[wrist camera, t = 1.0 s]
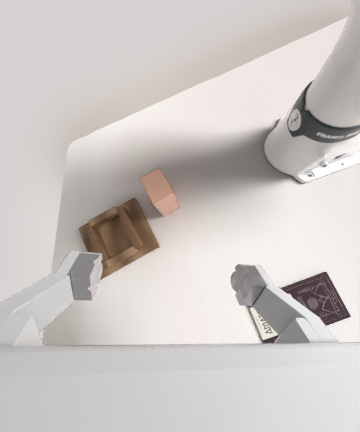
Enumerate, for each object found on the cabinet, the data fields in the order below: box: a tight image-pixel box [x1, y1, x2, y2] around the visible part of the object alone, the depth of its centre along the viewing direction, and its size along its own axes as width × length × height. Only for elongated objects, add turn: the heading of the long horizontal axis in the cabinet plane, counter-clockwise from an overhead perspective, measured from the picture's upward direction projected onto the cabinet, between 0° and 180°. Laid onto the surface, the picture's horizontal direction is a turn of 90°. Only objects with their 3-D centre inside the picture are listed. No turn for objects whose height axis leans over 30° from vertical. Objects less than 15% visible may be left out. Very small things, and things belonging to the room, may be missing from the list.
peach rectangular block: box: [140, 168, 180, 216], centre depth 38 cm, size 4×6×11 cm
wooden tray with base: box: [79, 198, 160, 279], centre depth 40 cm, size 16×14×4 cm
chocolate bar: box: [249, 272, 351, 343], centre depth 35 cm, size 9×1×18 cm
